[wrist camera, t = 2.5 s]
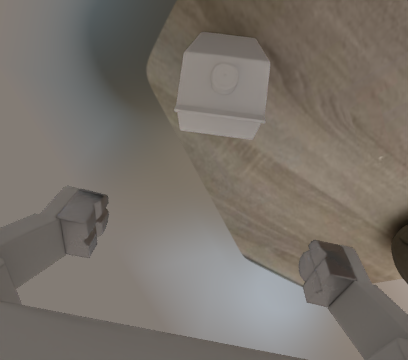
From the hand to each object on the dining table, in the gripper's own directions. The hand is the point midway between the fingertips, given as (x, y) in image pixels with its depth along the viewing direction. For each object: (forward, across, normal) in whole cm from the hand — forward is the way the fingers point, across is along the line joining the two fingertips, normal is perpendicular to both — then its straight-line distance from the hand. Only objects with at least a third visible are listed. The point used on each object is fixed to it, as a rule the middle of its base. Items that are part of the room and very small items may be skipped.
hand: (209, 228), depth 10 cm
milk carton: (+31, 0, 0) cm, 31 cm away
